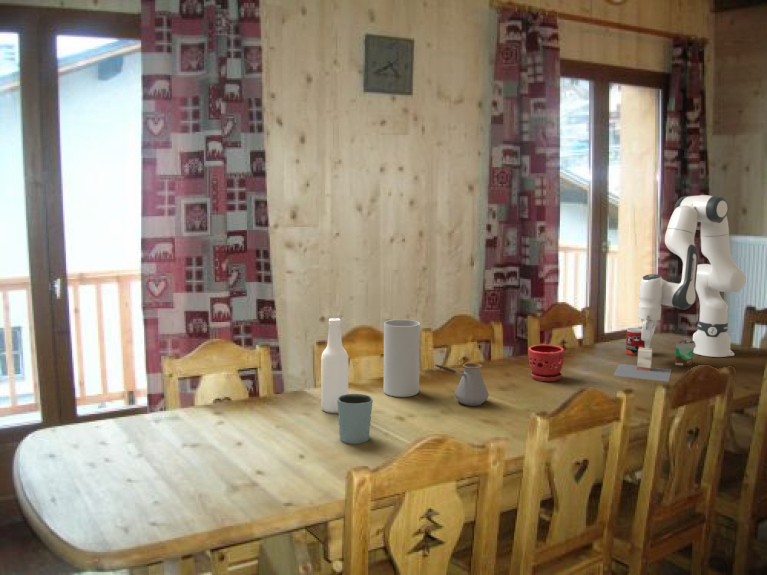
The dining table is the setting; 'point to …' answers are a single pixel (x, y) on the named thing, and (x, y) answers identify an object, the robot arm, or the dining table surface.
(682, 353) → the food container
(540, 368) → the plant pot
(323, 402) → the alcohol
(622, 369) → the mat
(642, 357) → the flip block
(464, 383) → the coffee pot
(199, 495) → the dining table surface
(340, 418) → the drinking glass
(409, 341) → the cylinder vase
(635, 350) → the canned food
